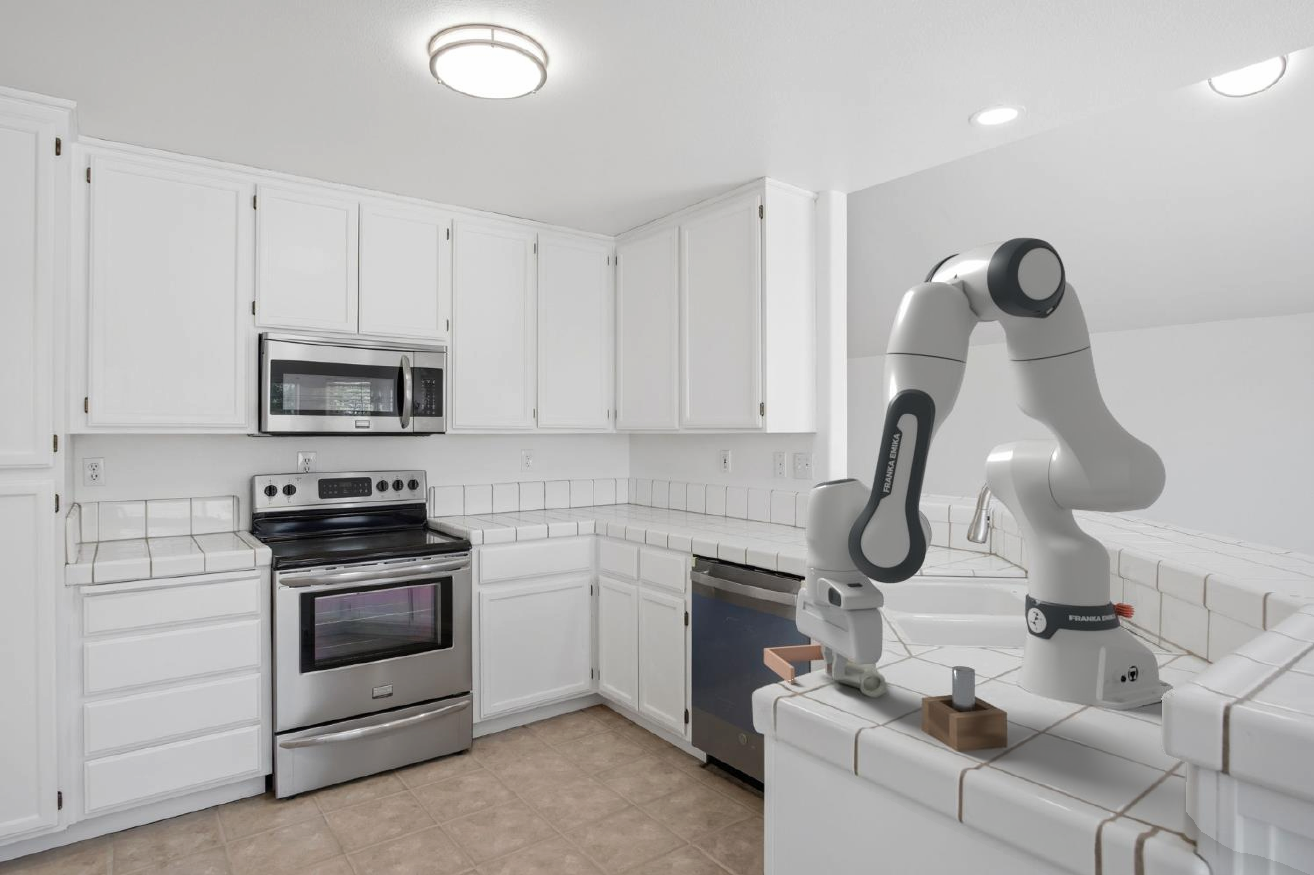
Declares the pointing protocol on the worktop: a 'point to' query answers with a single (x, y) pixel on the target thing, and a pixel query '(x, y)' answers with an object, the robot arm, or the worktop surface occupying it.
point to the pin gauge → (963, 689)
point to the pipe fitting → (864, 678)
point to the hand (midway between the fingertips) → (834, 676)
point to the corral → (791, 658)
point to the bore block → (964, 724)
